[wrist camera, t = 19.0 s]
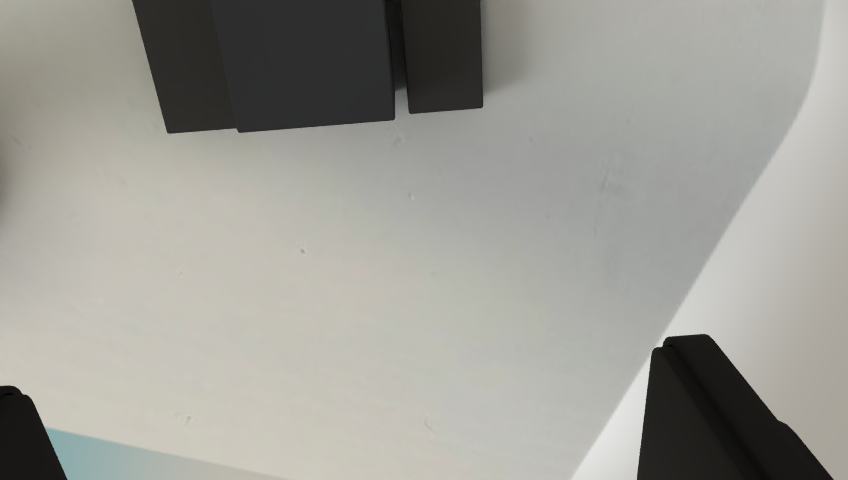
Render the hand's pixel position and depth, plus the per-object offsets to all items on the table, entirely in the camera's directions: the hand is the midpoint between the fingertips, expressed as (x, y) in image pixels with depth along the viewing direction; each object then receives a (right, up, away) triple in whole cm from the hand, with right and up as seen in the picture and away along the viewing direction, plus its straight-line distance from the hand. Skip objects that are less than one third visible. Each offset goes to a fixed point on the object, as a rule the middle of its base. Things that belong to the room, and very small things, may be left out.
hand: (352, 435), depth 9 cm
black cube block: (-4, +12, +18) cm, 22 cm away
